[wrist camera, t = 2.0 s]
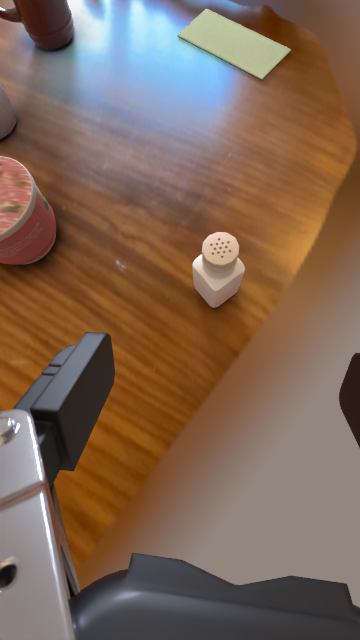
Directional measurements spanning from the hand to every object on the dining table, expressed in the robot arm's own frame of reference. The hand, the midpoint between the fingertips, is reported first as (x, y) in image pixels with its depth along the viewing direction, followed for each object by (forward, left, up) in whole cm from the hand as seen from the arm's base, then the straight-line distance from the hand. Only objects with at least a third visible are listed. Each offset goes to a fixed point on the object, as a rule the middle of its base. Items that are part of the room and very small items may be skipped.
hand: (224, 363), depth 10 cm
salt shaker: (+1, -11, -23) cm, 25 cm away
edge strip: (+5, -51, -22) cm, 56 cm away
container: (+26, -14, -23) cm, 37 cm away
